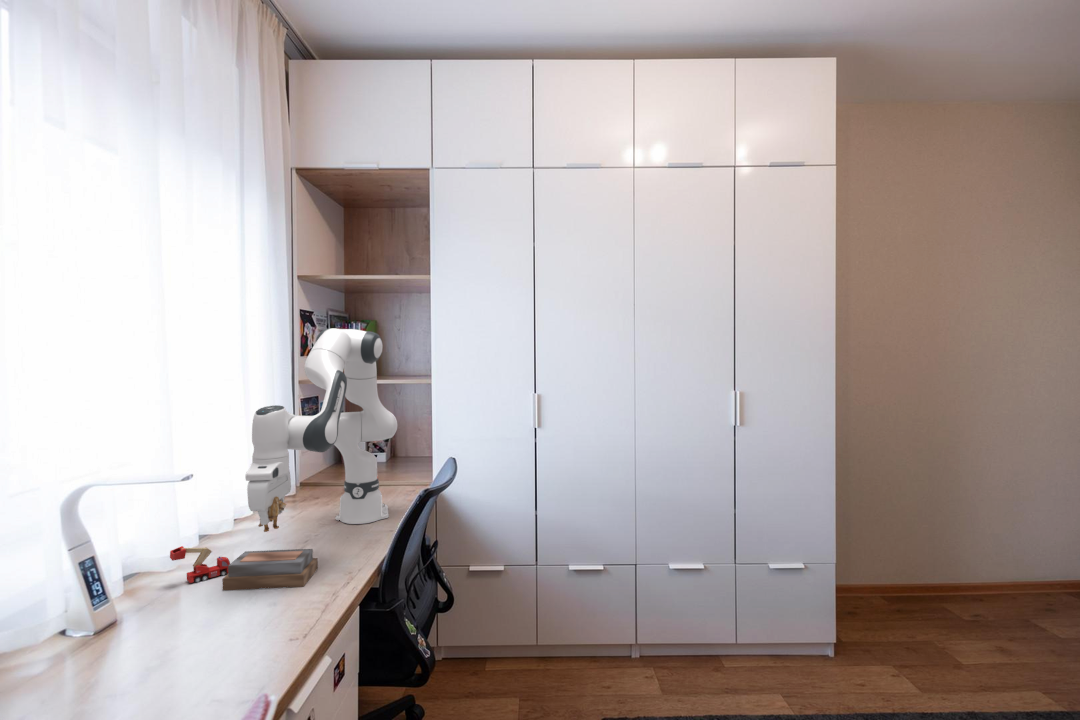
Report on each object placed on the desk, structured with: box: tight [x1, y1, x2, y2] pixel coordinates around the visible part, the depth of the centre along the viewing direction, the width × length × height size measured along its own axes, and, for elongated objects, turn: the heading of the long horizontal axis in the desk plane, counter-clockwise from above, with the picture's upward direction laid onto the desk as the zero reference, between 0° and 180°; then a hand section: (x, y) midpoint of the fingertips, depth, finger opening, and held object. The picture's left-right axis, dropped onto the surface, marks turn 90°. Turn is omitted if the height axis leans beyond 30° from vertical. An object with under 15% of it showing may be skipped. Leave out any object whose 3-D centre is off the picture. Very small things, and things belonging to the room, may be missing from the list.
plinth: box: [221, 548, 319, 591], centre depth 148 cm, size 12×20×6 cm, turn 95°
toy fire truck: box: [169, 545, 231, 584], centre depth 148 cm, size 3×14×10 cm, turn 134°
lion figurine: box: [258, 497, 287, 533], centre depth 149 cm, size 15×5×9 cm, turn 45°
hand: (271, 518), depth 148 cm, fingers closed on lion figurine, 8 cm apart
